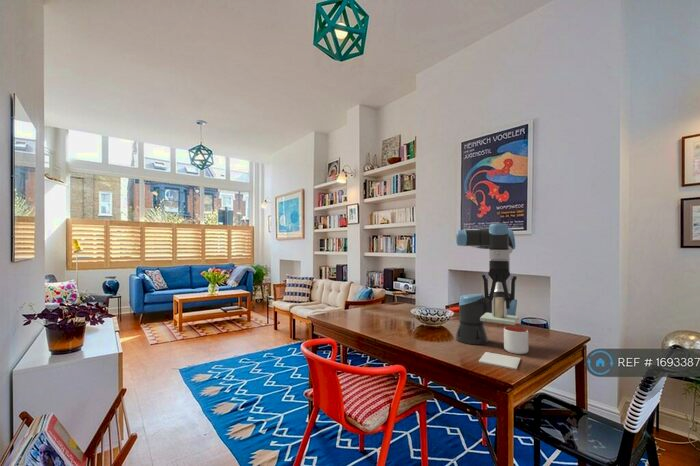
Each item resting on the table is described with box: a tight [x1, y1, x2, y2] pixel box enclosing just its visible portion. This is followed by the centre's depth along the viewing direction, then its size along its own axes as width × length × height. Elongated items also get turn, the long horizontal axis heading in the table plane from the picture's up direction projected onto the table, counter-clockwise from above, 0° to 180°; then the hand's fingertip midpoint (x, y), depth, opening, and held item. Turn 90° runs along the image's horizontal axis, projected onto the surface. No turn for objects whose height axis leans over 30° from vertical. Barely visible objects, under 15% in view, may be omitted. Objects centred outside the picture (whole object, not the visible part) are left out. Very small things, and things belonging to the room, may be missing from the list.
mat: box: [478, 351, 522, 371], centre depth 136 cm, size 14×14×1 cm
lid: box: [480, 297, 519, 326], centre depth 137 cm, size 13×13×9 cm
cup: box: [503, 326, 529, 355], centre depth 149 cm, size 10×10×10 cm
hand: (499, 315), depth 137 cm, fingers closed on lid, 4 cm apart
